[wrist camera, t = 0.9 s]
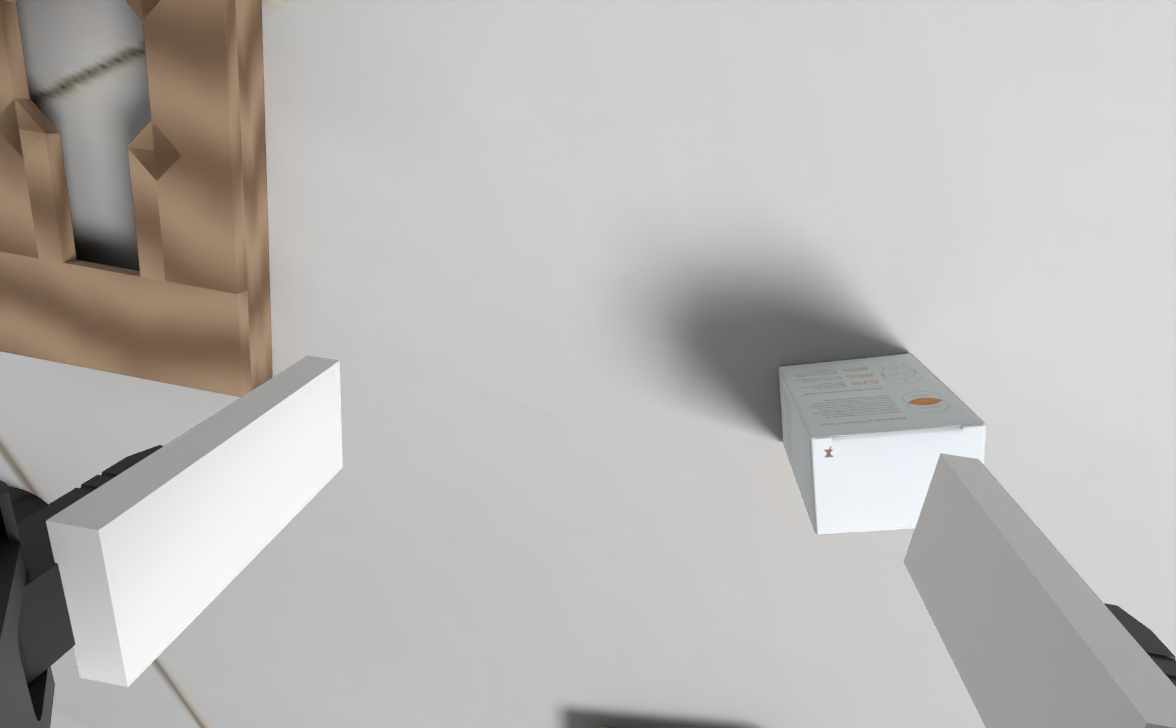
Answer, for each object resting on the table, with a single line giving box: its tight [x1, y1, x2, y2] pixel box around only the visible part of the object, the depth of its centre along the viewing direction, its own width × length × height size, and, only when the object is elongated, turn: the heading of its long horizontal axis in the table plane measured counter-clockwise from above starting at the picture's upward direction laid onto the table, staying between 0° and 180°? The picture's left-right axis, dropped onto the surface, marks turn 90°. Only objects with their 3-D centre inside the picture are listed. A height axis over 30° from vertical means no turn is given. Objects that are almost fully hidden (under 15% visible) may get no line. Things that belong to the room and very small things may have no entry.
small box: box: [779, 353, 986, 535], centre depth 37 cm, size 8×6×10 cm
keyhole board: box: [0, 0, 272, 397], centre depth 41 cm, size 28×18×3 cm, turn 172°
